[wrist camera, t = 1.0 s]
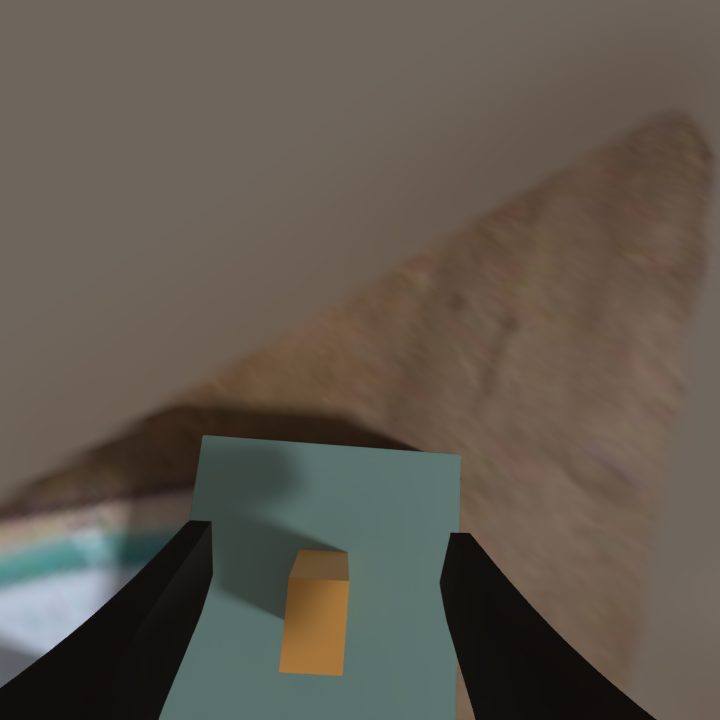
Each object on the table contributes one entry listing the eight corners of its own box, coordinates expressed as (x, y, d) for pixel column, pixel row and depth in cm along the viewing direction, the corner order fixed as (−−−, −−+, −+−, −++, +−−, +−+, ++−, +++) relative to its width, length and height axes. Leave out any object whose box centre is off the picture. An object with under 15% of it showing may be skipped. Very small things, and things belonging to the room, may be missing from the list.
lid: (444, 730, 17) (486, 850, 12) (171, 716, 17) (98, 834, 12) (450, 453, 20) (488, 458, 15) (214, 435, 19) (169, 434, 14)
